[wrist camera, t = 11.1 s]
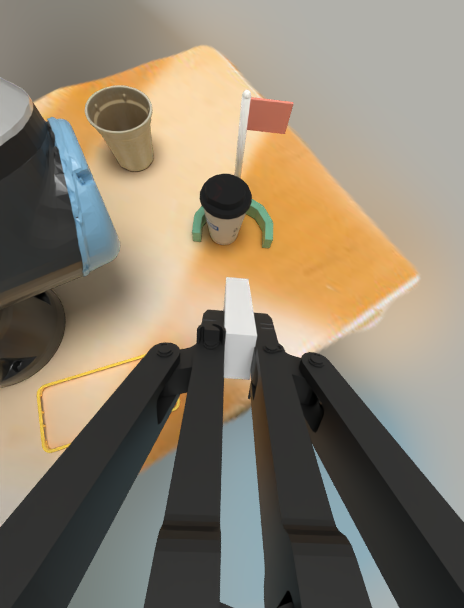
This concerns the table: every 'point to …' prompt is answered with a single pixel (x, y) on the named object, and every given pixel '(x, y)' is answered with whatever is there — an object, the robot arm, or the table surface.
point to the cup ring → (254, 211)
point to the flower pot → (123, 124)
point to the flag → (260, 120)
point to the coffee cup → (225, 206)
